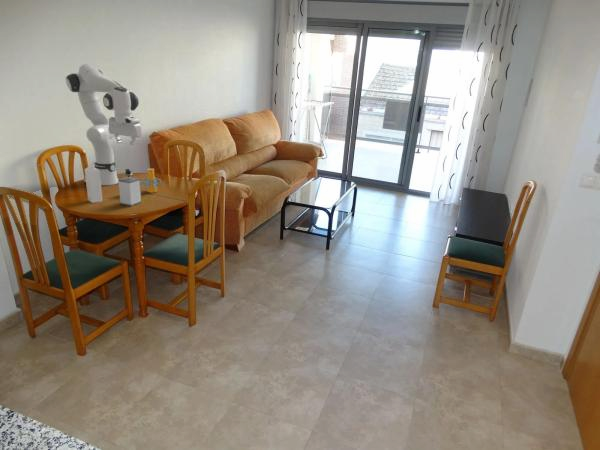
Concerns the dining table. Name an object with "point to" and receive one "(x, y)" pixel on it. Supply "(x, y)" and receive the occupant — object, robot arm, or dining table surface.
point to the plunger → (128, 173)
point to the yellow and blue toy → (151, 181)
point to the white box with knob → (130, 191)
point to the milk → (93, 184)
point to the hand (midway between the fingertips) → (125, 143)
